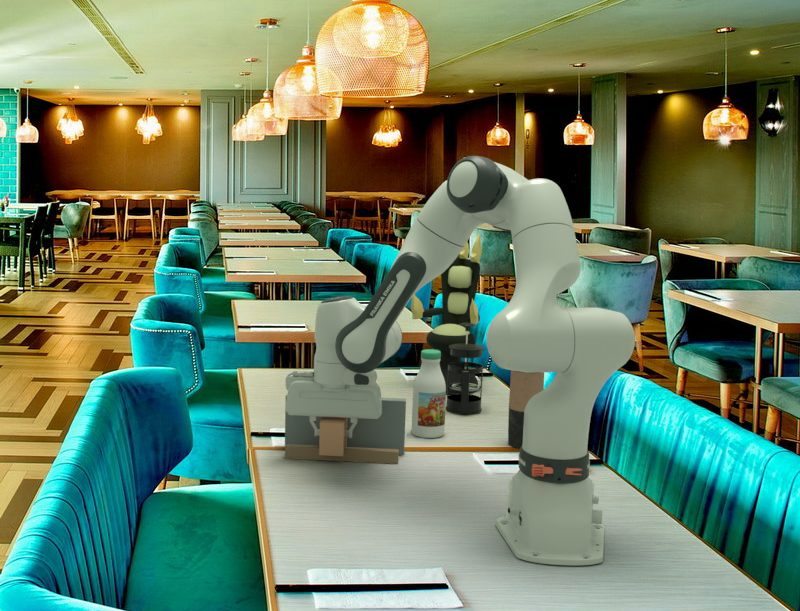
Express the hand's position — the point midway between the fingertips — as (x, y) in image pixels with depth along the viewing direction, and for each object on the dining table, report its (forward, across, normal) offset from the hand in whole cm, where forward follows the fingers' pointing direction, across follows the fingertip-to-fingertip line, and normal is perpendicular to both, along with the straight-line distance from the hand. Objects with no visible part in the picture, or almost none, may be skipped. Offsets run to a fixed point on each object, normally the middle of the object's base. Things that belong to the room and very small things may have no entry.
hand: (333, 436), depth 192 cm
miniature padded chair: (+5, +25, +71) cm, 76 cm away
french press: (+5, +29, +45) cm, 54 cm away
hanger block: (+3, 0, 0) cm, 3 cm away
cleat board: (+5, +2, +3) cm, 6 cm away
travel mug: (+5, +42, +17) cm, 45 cm away
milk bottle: (+5, +20, +22) cm, 30 cm away
